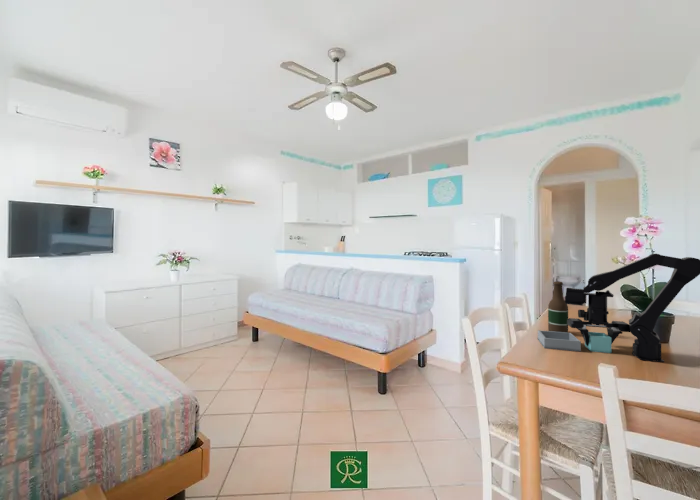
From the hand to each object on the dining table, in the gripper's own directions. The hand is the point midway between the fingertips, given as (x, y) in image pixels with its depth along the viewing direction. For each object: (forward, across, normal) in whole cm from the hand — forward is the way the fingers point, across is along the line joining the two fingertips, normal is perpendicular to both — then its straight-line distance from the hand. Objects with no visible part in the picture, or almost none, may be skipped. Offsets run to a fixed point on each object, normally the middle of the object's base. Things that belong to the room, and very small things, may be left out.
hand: (597, 346), depth 117 cm
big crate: (+1, +13, -1) cm, 13 cm away
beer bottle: (+1, +8, -21) cm, 23 cm away
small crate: (+1, 0, 0) cm, 1 cm away
